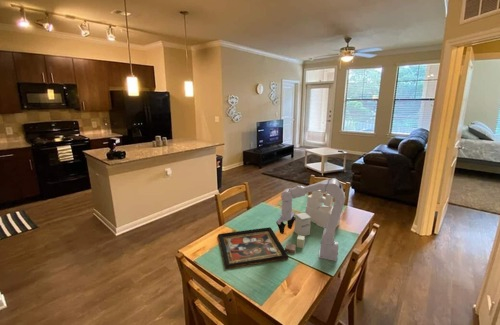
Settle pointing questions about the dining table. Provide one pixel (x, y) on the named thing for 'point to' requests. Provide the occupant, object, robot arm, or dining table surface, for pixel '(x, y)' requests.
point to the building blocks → (320, 208)
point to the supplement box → (302, 224)
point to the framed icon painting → (250, 247)
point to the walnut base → (290, 248)
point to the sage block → (300, 241)
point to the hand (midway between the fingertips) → (285, 230)
